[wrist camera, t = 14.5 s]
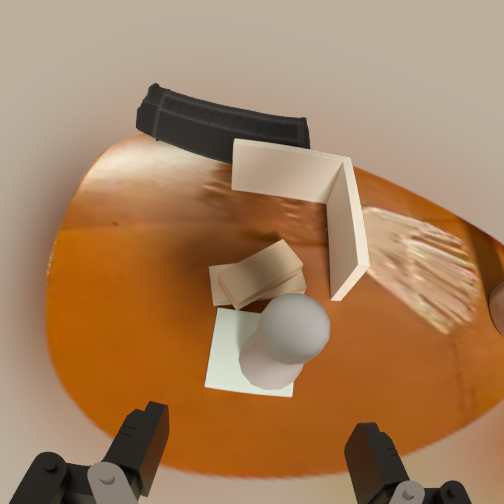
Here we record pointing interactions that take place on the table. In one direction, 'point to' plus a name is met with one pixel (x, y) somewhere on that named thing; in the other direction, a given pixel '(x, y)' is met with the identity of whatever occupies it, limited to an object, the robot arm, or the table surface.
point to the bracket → (310, 198)
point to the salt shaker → (284, 341)
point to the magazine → (213, 124)
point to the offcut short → (259, 274)
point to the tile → (234, 354)
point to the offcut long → (290, 286)
